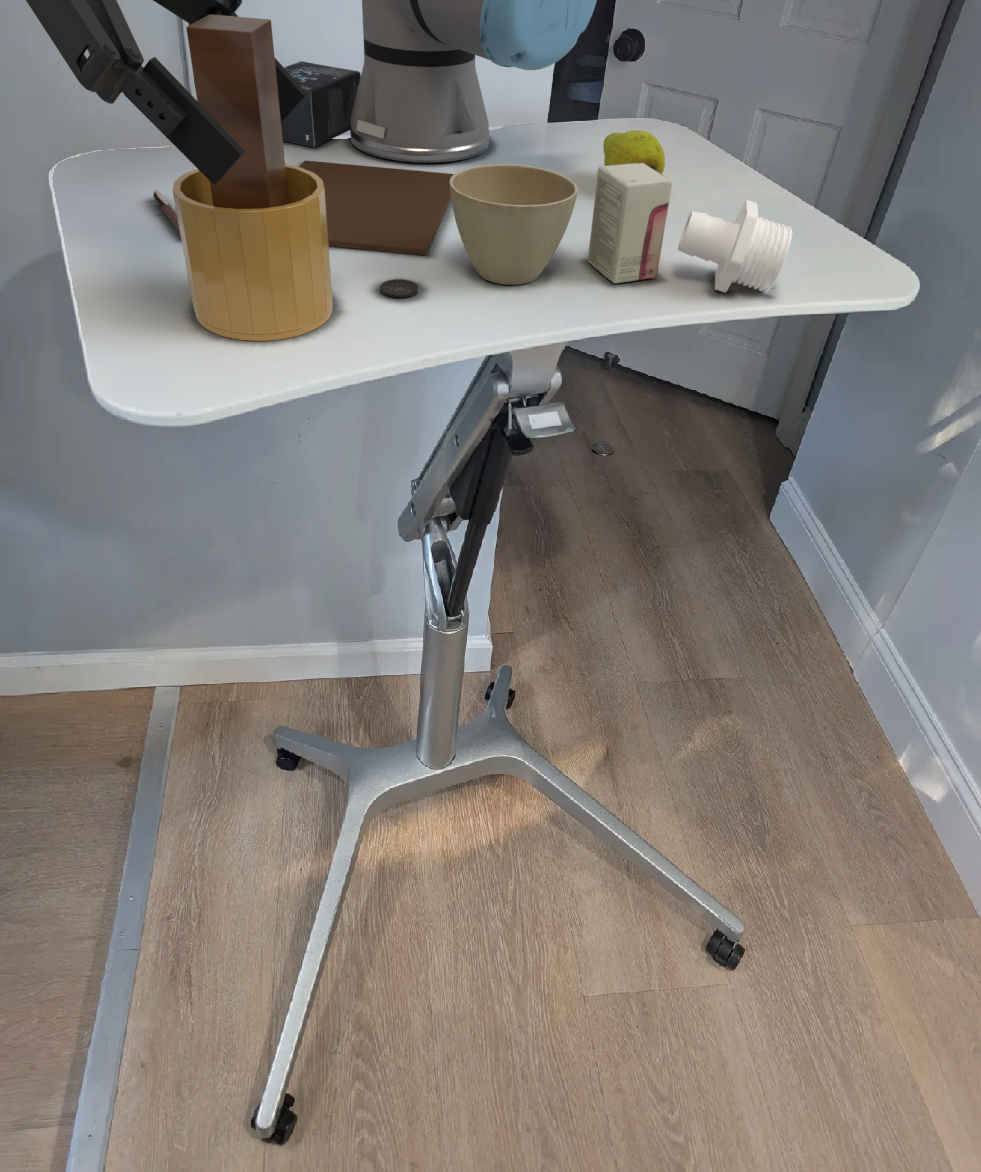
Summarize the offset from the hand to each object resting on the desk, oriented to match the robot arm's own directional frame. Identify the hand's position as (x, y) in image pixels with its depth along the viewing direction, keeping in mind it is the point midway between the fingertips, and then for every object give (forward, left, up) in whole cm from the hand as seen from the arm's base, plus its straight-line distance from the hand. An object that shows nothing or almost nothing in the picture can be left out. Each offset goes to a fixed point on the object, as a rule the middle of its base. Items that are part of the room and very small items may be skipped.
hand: (265, 136), depth 59 cm
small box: (-14, +25, -12) cm, 31 cm away
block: (0, -2, -12) cm, 12 cm away
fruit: (-31, +27, -9) cm, 42 cm away
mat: (-23, 0, -12) cm, 26 cm away
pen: (-16, -15, -12) cm, 25 cm away
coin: (-6, +8, -12) cm, 15 cm away
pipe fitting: (-13, +29, -8) cm, 33 cm away
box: (-50, -9, -9) cm, 52 cm away
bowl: (-11, +16, -12) cm, 23 cm away
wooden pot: (0, -2, -12) cm, 12 cm away
